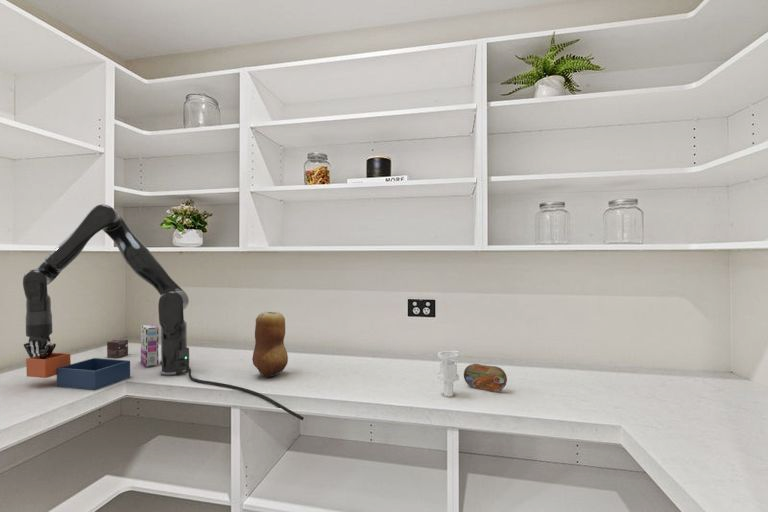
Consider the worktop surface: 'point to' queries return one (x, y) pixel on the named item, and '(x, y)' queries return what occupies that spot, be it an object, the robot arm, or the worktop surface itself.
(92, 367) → the big bin
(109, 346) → the box
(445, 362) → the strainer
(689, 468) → the worktop surface
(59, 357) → the small bin
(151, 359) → the candy bar box
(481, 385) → the tin
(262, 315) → the butternut squash
